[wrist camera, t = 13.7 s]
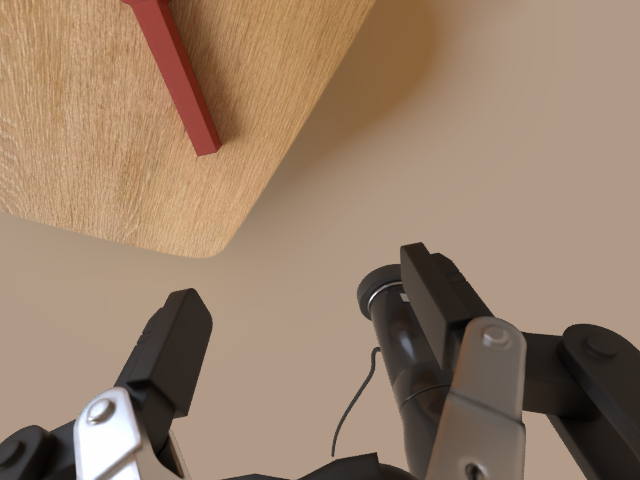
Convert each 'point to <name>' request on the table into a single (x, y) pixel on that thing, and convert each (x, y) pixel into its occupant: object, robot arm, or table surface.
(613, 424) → the robot arm
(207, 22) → the table surface
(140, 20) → the red flat paddle piece
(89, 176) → the table surface
